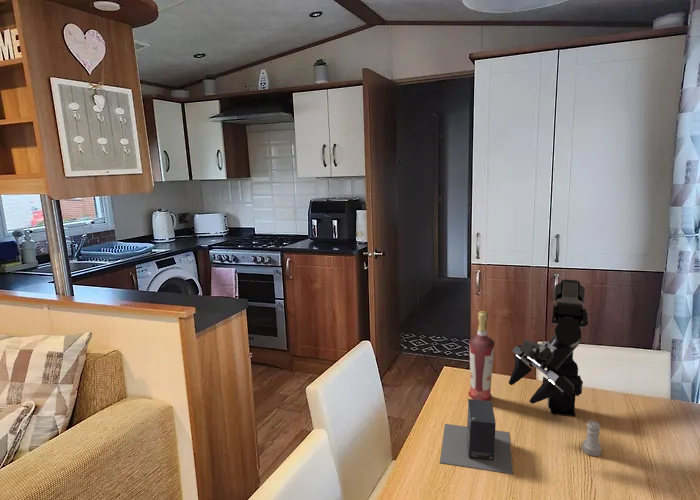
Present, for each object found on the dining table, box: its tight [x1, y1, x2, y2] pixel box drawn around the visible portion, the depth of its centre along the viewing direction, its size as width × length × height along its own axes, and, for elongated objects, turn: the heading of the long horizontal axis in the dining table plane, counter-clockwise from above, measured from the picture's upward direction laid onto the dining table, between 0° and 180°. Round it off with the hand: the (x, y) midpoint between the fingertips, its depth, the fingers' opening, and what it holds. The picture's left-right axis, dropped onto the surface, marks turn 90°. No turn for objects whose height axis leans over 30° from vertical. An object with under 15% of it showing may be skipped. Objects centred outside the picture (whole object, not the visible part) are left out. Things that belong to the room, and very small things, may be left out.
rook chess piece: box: [581, 419, 603, 457], centre depth 114 cm, size 4×4×8 cm
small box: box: [466, 398, 497, 460], centre depth 116 cm, size 11×6×10 cm, turn 168°
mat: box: [439, 423, 514, 475], centre depth 118 cm, size 17×17×1 cm
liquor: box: [468, 310, 495, 401], centre depth 138 cm, size 7×7×28 cm
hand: (519, 393), depth 118 cm, fingers open, 9 cm apart
